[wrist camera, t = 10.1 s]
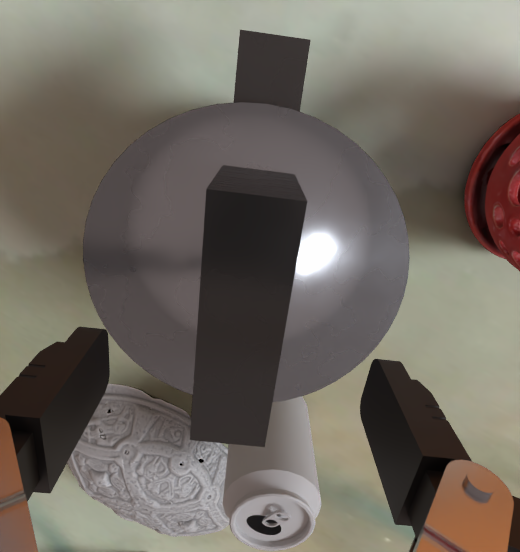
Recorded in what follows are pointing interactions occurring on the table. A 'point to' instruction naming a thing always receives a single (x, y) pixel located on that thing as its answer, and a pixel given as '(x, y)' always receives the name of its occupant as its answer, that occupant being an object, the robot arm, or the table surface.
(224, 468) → the grey oval domed piece
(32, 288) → the table surface
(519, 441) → the table surface
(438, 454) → the robot arm
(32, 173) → the table surface
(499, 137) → the plant pot
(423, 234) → the table surface
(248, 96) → the cooker
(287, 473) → the can
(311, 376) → the lid
